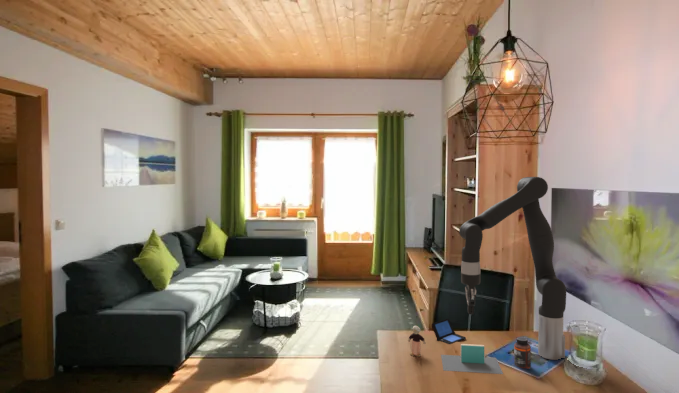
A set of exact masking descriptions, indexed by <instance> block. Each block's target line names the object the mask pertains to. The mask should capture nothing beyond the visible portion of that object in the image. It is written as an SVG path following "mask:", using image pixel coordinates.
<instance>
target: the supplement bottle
mask: <svg viewBox="0 0 679 393" xmlns="http://www.w3.org/2000/svg"><path fill="white" fill-rule="evenodd" d="M528 339H529V338H527V337H524V336H518V337H517V338H516V342H515V343H514V346H513V347H514V348H513V349H514V350H513V352H514V356H513V357H514V358H513V359H514V360H513V361H514V362H513V364H514V365H515V366H516V367H517V368H521V369H527V370H529V369H531V366H532V364H531V362H532V360H531V356H532V354H531V353H532V351H531V345H530V343H529V340H528Z"/></svg>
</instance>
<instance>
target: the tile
mask: <svg viewBox="0 0 679 393" xmlns="http://www.w3.org/2000/svg"><path fill="white" fill-rule="evenodd" d="M460 356H461V362H465V363H482V364H484V357H485V345H484V344H472V343H471V344H469V343H460Z"/></svg>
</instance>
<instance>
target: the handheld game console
mask: <svg viewBox="0 0 679 393" xmlns="http://www.w3.org/2000/svg"><path fill="white" fill-rule="evenodd" d="M431 327H432V330H433V333H434V336H435V338H436V341H437V342H441V343H444V344H447V345H452V344H455V343H461V342H463V341H465V340H467V339H466V337H465V336H462V335H460V334H457V333H456V332H455V330H454V328H453V325H452V323H451V321H450V319H449V318H446V319H445V318H444V319H441V320H439V321H436V322H432V323H431Z"/></svg>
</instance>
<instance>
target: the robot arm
mask: <svg viewBox="0 0 679 393" xmlns="http://www.w3.org/2000/svg"><path fill="white" fill-rule="evenodd" d="M548 189H549V185H548V182H547V181H546V180H545V179H544V178H543V177H541V176H527V177H522V178H521V179H519V181H518V182H517V185H516V191H517V192H515V193H514V194H512V195H511V196H509V197H507V198H505V199H502V200H500V201H499V202H496V203H494V204H493V205H491V206H490V207H488V208H487V209H486V210H484V211H483V212H481V213H480V214H479V215H477V216H475V217H472V218H470V219H468V220H467V221H465V222H464V223H463V224H462V225H461V226H460V227H459V236H461V238H462V239H464V240H465V242H464V247H462V249H461V264H460V269H461V271H460V276H461V277H460V281H461V282H460V283H461V284H463V285H465V287H464V289H465V298H466V304H467V313H468V315H475V314H474V313H475V306H476V300H477V288H476V286H478V285H480V284H481V260H480V259H481V258H480V257H481V256H480V254H481V253H480V251H481V247H482V243H483V238H484V237H483V231H484V230H490V229H492V228H493V227H495V226H497V225H498V224H500V223H501V222H502V221H503V220H505V219H506V218H508V217H509V216H511V215H512V214H514V213H516V212H518V211H519V210H520V209H522V212H523V216H524V222H525V223H524V224H525V227H526V233H527V237H528V238H527V239H528V244H529V248H530V253H531V258H532V260H533V265H534V274H535V286H536V289H537V291H538V293H539V294H541V305H540V306H539V307H538V326H537V327H538V329H537V330H538V335H537V336H538V338H537V339H538V340H537V342H538V343H537V344H538V345H537V347H538V352H537V353H538V355H539V356H540V357H541V356H542V358H543V359H546V360H553V361H559V360H558V359H560V360H562V359H561V358H565V359H566V336H565V334H564V315H565V314H564V313H565V310H566V305H567V287H566V284H565V283H564V282H563V281H562V280H560V279H559V278H557V275H556V272H555V269H554V264H553V256H554V252H555V251H554V250H555V241H554V236H553V231H552V228H551V225H550V223H549V221H548V220H547V218H546V216H545V215H544V213H543V211H542V208H541V206H540V199H541V198H543V197H544V196H546V194H547V193H548Z"/></svg>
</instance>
